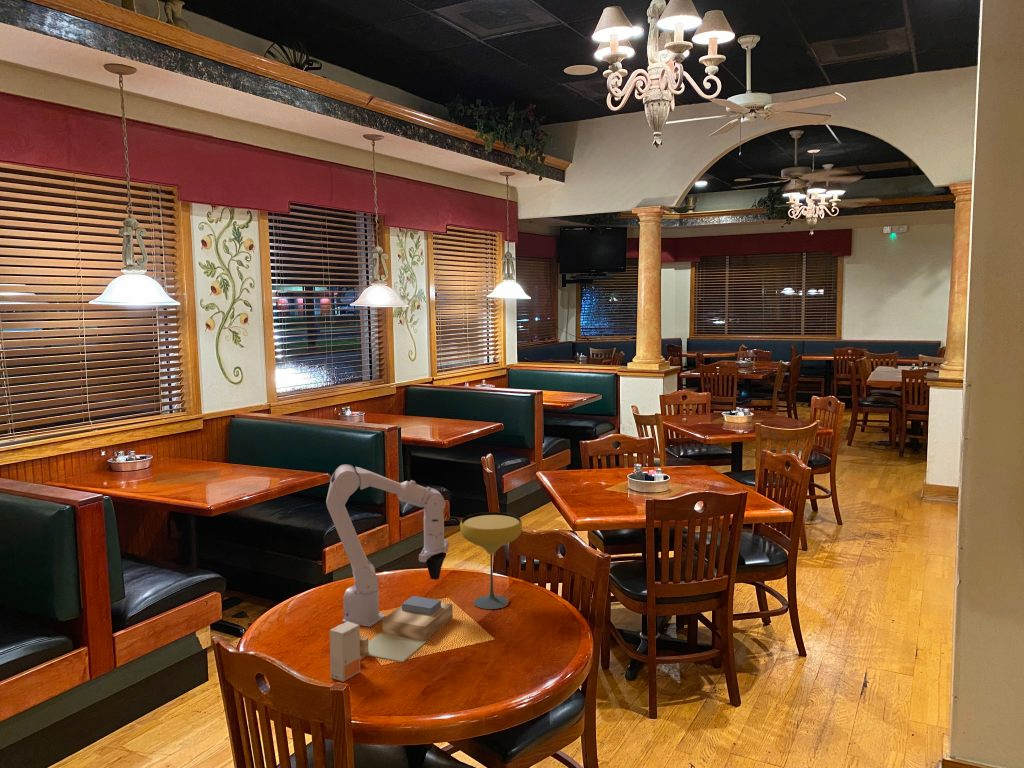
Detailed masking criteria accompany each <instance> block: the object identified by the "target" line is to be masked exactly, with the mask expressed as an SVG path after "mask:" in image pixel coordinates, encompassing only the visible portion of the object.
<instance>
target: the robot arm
mask: <svg viewBox="0 0 1024 768" xmlns="http://www.w3.org/2000/svg"><path fill="white" fill-rule="evenodd" d="M369 487H371V488H375V489H379V490H382V491H383V492H384V491H385V492H388V493H391V494H394V495H396V496H397V498H398V500H399V501H401V502H402V503H403V502H404V503H407V504H409V505H412V506H415V507H418V508H423V548H422V550H421V552H420V553H419V554H418V562H420V563H425V565H426V567H427V570H428V574H429V578H430V580H435V581H436V580H437V581H438V580H439V579H440V576H441V572H442V566H443V563H444V561H445V559H446V557H447V553H446V552H448V551H449V547H450V541H449V540H448V539H445V520H444V519H445V517H444V510H445V508H446V503H447V502H445V498H444V496H443V495H442V494H441V492H440V491H439V490H437V489H436V488H434V487H430V486H426V487H425V486H422V485H420V484H418V483H417V482H416V481H415V480H413V479H410V481H408V480H405V481H403V482H402V481H401V482H398V481H395V480H394V479H391V478H388V477H385V476H383V475H381V474H378V473H376V472H373V471H370V470H368V469H365V468H362V467H358V466H355V467H354V466H353V465H352V464H347V463H346V464H341V465H339V466H338V467H337V468H336V469H335V471H334V472H333V473H332V475H331V476H330V482H329V486H328V492H327V496H326V500H325V503H326V508H327V510H328V513H329V516H330V517H331V519H332V522H333V524H334V527H335V529H336V532H337V534H338V537H339V539H340V541H341V544H342V546H343V548H344V550H345V551H344V552H345V554H346V556H347V558H348V561H349V564H350V566H351V570H352V576H353V580H354V584H353V586H349V587H347V588H346V590H345V592H344V593H343V594H344V595H343V599H342V603H343V605H342V606H343V619H342V620H341V622H342V623H345V622H347V621H348V622H351V623H354V624H358V625H359V626H364V627H369V628H370V627H372V626H374V625H375V624H377V623H378V622H380V621H381V620H382V619H383V618H385V617H386V614H384V613H380V595H379V594H380V593H379V592H380V591H379V590H380V589H379V585H378V584H379V577H378V576H377V574H376V567H375V566H374V564H373V563H371V562H370V561H369V559H368V557H367V556H366V555H367V554H366V553H365V551H364V549H363V546H362V544H361V541H360V539H359V536H358V534H357V532H356V529H355V527H354V524H353V522H352V520H351V517H350V515H349V512H348V509H347V507H346V504H347V502H348V500H349V498H350V496H352V495H353V494H354V493H355V492H356V491H357V489H358V488H359V489H360V490H364V489H367V488H369Z"/></svg>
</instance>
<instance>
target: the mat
mask: <svg viewBox="0 0 1024 768" xmlns="http://www.w3.org/2000/svg"><path fill="white" fill-rule="evenodd" d="M426 643H427V640H426V641H422V640H416V639H411V638H405V637H399V636H394V635H388V634H383V632H379V633H378V634H377V635H375V636H374V637H372V639H370V640H368V651H369V653H368V654H367V656H368V657H373V658H379V659H383V660H389V661H393V662H394V661H395V662H398V663H404V662H405V661H406V660H407V659H409V658H410V657H411V656H412V655H414V654H415V653H416V652H417V651H418V650H419V649H420V648H422V647H423V646H424V645H425V644H426Z"/></svg>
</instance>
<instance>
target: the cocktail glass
mask: <svg viewBox="0 0 1024 768" xmlns="http://www.w3.org/2000/svg"><path fill="white" fill-rule="evenodd" d="M522 529H523V524H522V519H521V518H520V517H519V516H517V515H515V514H512V513H507V512H506V513H505V512H498V511H497V512H496V511H495V512H494V511H490V512H488V511H487V512H479V513H472V514H469V515H466V516H464V517H463V518H462V519H461V520H460V526H459V530H460V534H461V536H462V537H463V538H464V539H465V540H466V541H467V542H470V543H471V544H474V545H477V546H479V547H481V548H483V549H484V550H485V551H486V553H487V554H488V555H489V556H490V559H489V561H490V562H489V563H490V582H489V583H490V586H489V587H490V588H489V594H487V595H486V594H485V595H486V596H485V595H481V596H482V597H481V596H478V597H479V598H478V597H476V598H477V599H476V598H475V599H474V600H473V605H474V606H475V607H476V606H477V608H478V607H480V608H479V609H481V608H484V609H483V610H485V609H497V608H502V607H504V606H505V605H506V604H507V602H508V600H506V598H504V597H505V596H504V595H500V596H499V594H495V592H494V580H493V579H494V578H493V577H494V575H493V574H494V572H493V571H494V570H493V564H494V563H493V555H494V554H495V553H497V551H498V549H500V548H501V547H504V546H505V545H508V544H510V543H512V542H513V541H515V540H516V539H518V538H519V536H520V535H521V533H522ZM503 596H504V597H503ZM502 609H503V608H502ZM497 610H498V609H497Z"/></svg>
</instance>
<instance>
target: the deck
mask: <svg viewBox="0 0 1024 768" xmlns="http://www.w3.org/2000/svg"><path fill="white" fill-rule="evenodd" d="M453 614H454V613H453V604H452V603H447V602H441V608H440V609H438V610H437V611H436V612H435V613H433V614H432V615H426V614H420V613H413V612H407V611H402V604H401V605H400V606H399V607H397V608H396V609H395V610H393V611H392V612H390V613H389V614H387V615H385V617H384V618H382V619H381V620H382V633H383V634H388V635H394V636H399V637H405V638H411V639H416V640H422V641H426V642H427V641H428V639H430V638H431V637H432V636H433V635H435V633H437V632H438V631H439V630H440V629H442V628H443V627H444V626H445V625H446V624H447V623H449V622H450V621H451V620H452V619H453Z"/></svg>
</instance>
